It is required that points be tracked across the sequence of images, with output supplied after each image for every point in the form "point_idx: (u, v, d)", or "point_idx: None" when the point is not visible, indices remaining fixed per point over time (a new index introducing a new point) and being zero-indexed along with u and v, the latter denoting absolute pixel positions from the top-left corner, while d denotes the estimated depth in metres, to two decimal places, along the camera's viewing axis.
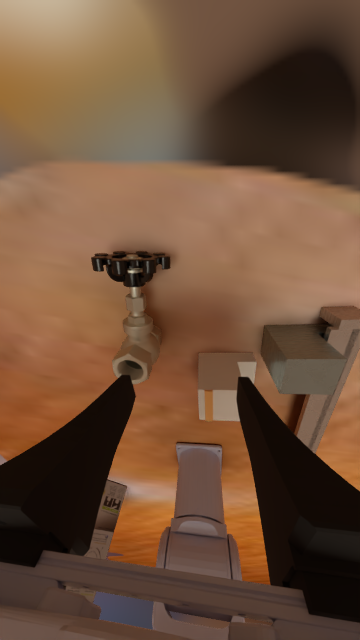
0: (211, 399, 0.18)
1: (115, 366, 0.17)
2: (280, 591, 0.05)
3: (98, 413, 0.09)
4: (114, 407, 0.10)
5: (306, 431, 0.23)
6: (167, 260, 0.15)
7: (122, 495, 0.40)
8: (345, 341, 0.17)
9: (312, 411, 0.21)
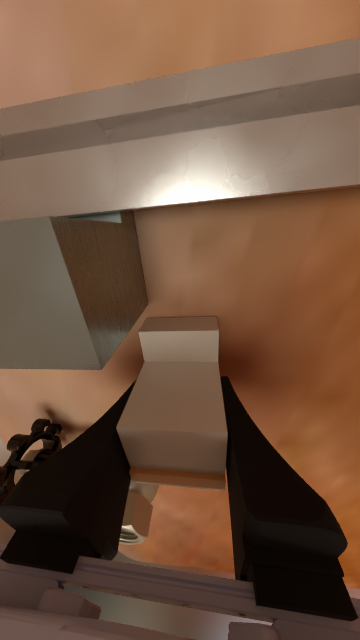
0: (151, 475, 0.09)
1: None
2: (232, 583, 0.05)
3: None
4: None
5: None
6: (10, 444, 0.14)
7: None
8: None
9: (289, 159, 0.05)
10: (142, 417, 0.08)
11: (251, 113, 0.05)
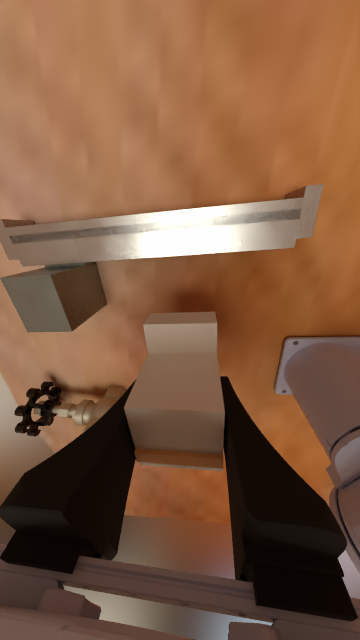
0: (155, 455, 0.09)
1: None
2: (232, 583, 0.05)
3: (122, 414, 0.09)
4: None
5: (194, 241, 0.13)
6: (28, 393, 0.22)
7: None
8: (27, 246, 0.15)
9: (145, 246, 0.14)
10: (147, 399, 0.09)
11: (126, 231, 0.13)
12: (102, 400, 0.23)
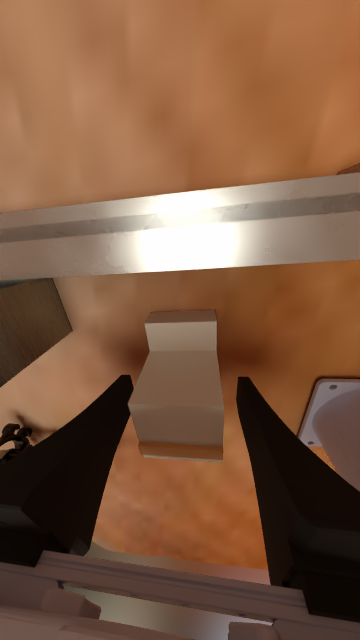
0: (158, 448, 0.10)
1: None
2: (280, 591, 0.05)
3: (98, 413, 0.09)
4: (114, 407, 0.10)
5: (190, 247, 0.08)
6: None
7: None
8: None
9: (110, 256, 0.09)
10: (150, 396, 0.09)
11: (78, 231, 0.08)
12: None
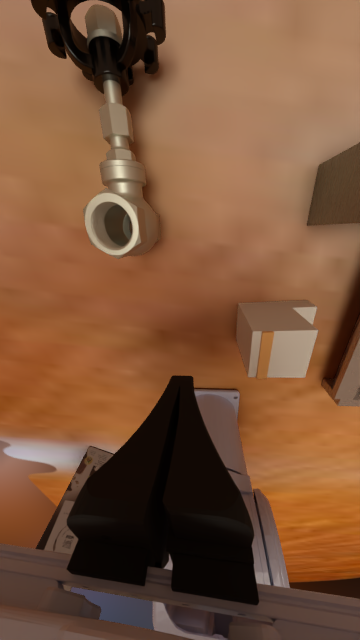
0: (270, 345, 0.14)
1: (88, 220, 0.11)
2: (155, 571, 0.05)
3: (168, 416, 0.08)
4: (176, 410, 0.10)
5: None
6: (159, 5, 0.09)
7: None
8: None
9: None
10: None
11: None
12: (156, 217, 0.14)
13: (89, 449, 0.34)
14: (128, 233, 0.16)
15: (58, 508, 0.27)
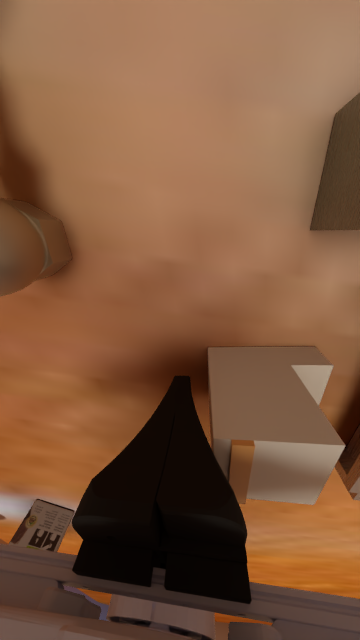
0: (248, 463, 0.07)
1: None
2: None
3: (172, 416, 0.08)
4: None
5: None
6: None
7: (64, 526, 0.26)
8: None
9: None
10: None
11: None
12: (25, 227, 0.07)
13: (35, 504, 0.27)
14: None
15: None
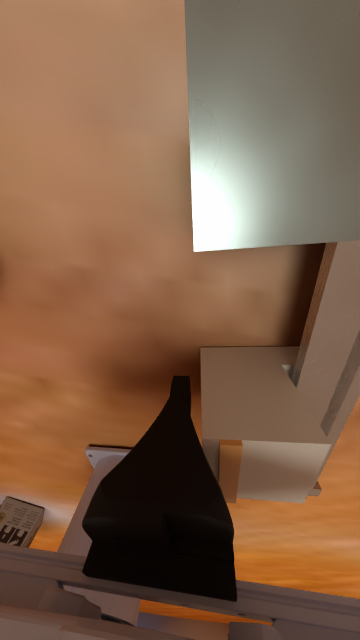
0: (237, 462, 0.07)
1: None
2: None
3: (178, 417, 0.08)
4: None
5: None
6: None
7: (32, 522, 0.27)
8: None
9: (319, 373, 0.09)
10: None
11: (354, 352, 0.08)
12: None
13: (5, 501, 0.28)
14: None
15: None
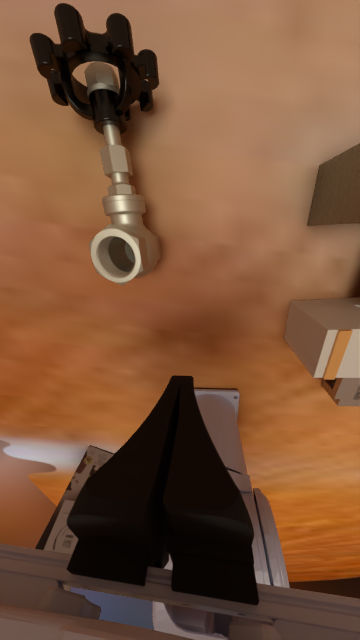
0: (345, 343, 0.13)
1: (94, 253, 0.12)
2: (155, 571, 0.05)
3: (168, 416, 0.08)
4: (176, 410, 0.10)
5: None
6: (152, 58, 0.10)
7: None
8: None
9: None
10: None
11: None
12: (156, 241, 0.14)
13: (89, 449, 0.34)
14: (130, 254, 0.17)
15: (58, 507, 0.27)
